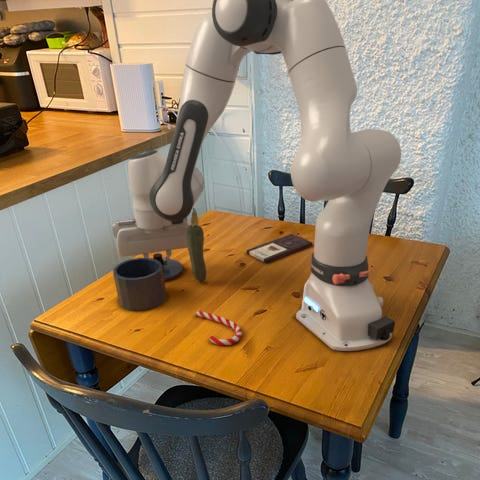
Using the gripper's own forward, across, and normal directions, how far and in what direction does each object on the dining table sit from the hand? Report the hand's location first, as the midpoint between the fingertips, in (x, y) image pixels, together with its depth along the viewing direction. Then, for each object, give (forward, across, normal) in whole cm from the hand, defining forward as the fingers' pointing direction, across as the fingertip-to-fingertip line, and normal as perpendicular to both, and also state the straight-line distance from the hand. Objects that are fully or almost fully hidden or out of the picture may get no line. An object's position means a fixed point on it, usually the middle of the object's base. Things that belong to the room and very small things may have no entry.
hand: (159, 265), depth 127 cm
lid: (+2, 0, 0) cm, 2 cm away
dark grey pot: (+2, -6, -13) cm, 15 cm away
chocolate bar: (+2, +36, +3) cm, 36 cm away
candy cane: (+2, +8, -32) cm, 33 cm away
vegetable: (+2, +9, -10) cm, 14 cm away
